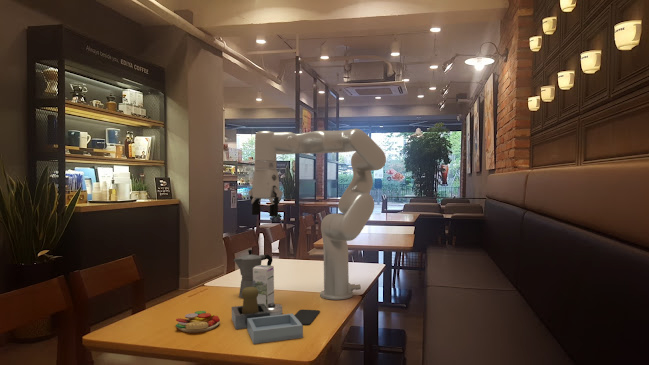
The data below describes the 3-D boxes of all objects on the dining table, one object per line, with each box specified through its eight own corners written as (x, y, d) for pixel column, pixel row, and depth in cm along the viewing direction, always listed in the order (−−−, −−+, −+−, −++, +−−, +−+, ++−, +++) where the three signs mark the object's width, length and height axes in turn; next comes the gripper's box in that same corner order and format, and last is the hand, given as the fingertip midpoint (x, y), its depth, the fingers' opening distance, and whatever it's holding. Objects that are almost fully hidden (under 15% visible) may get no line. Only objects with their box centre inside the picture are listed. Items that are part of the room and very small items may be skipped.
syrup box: (274, 305, 157) (274, 265, 157) (267, 310, 152) (266, 268, 152) (260, 304, 159) (260, 264, 159) (252, 308, 154) (252, 267, 154)
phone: (321, 310, 150) (309, 324, 135) (321, 312, 150) (309, 326, 135) (300, 309, 151) (286, 322, 137) (300, 311, 151) (286, 325, 137)
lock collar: (279, 310, 152) (279, 298, 152) (289, 323, 138) (289, 310, 138) (230, 315, 146) (230, 303, 146) (235, 329, 132) (235, 316, 132)
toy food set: (195, 337, 127) (195, 326, 127) (165, 330, 134) (165, 319, 134) (228, 324, 138) (228, 314, 138) (199, 318, 145) (199, 308, 145)
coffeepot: (236, 300, 164) (235, 252, 164) (231, 295, 173) (230, 249, 173) (276, 296, 170) (275, 249, 170) (269, 290, 179) (268, 246, 179)
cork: (256, 325, 136) (255, 290, 135) (237, 324, 137) (237, 289, 137) (262, 319, 141) (262, 285, 141) (245, 318, 143) (244, 285, 143)
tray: (292, 324, 136) (292, 313, 136) (302, 337, 125) (302, 325, 125) (247, 330, 132) (247, 318, 132) (253, 344, 120) (253, 331, 120)
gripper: (290, 166, 151) (289, 216, 151) (258, 167, 163) (257, 213, 163) (273, 165, 146) (272, 217, 145) (241, 166, 157) (241, 214, 157)
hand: (264, 215), depth 154 cm, fingers open, 9 cm apart
